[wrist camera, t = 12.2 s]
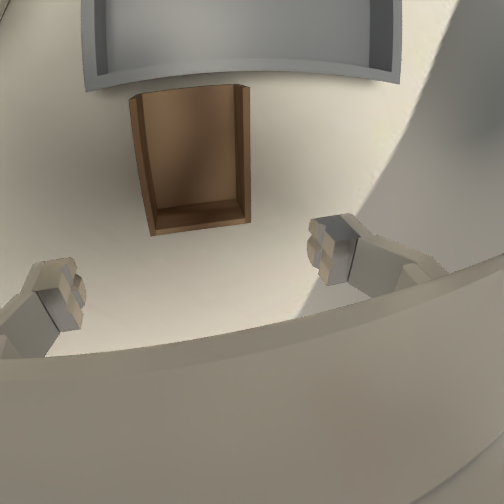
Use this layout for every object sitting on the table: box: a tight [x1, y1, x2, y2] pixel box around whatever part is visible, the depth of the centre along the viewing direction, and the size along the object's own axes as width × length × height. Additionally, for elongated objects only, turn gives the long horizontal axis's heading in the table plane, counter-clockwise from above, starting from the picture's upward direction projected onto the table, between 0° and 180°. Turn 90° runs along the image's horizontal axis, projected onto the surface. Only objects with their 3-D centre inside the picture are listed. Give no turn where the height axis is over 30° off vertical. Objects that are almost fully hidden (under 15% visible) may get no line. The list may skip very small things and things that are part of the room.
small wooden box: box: [129, 84, 251, 236], centre depth 19 cm, size 7×9×4 cm
